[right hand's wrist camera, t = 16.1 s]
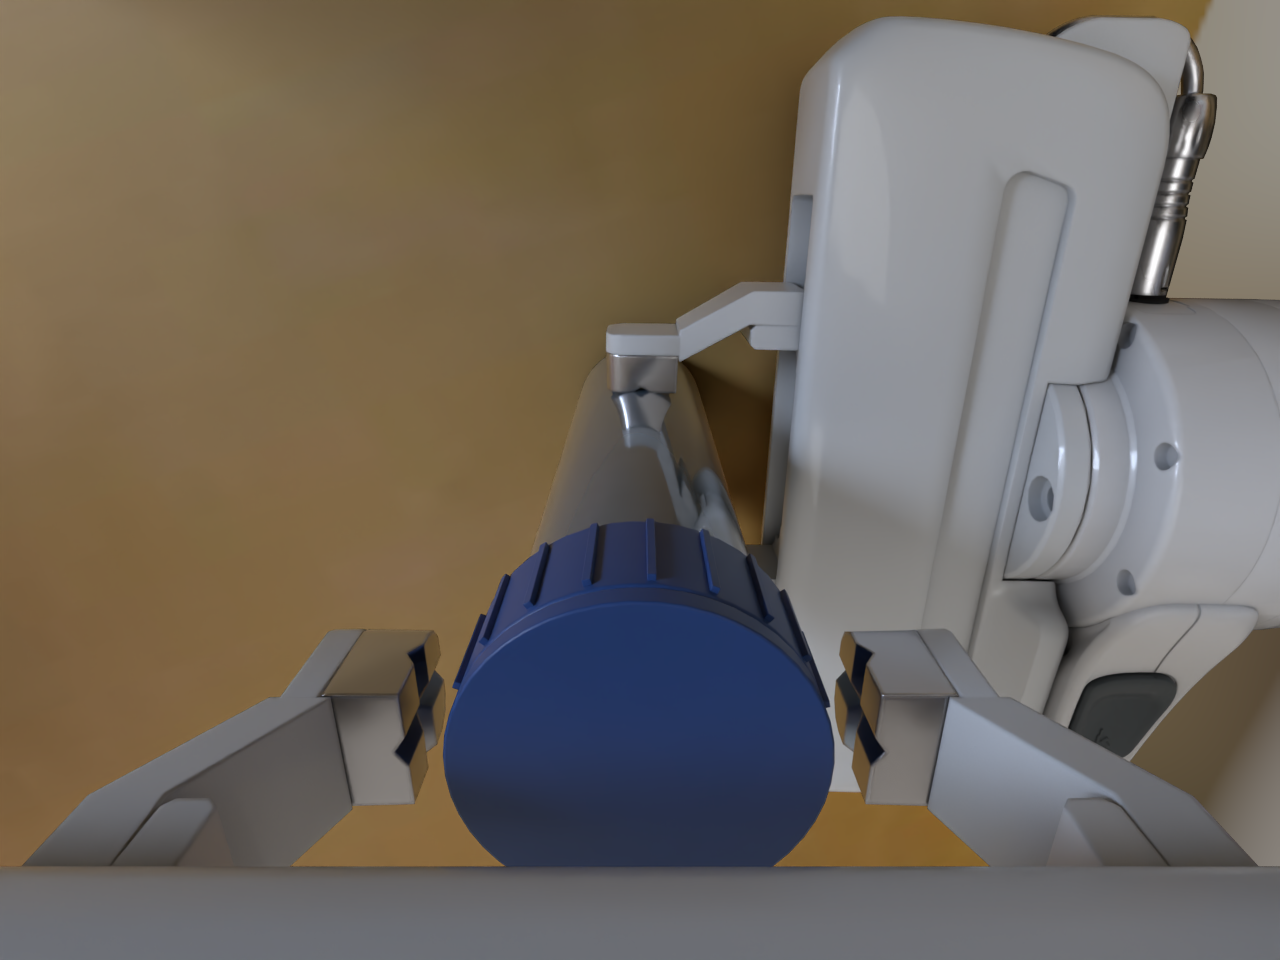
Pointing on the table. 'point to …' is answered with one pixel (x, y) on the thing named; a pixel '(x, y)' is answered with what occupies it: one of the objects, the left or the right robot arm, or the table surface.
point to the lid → (639, 708)
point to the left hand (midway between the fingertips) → (606, 457)
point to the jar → (639, 464)
